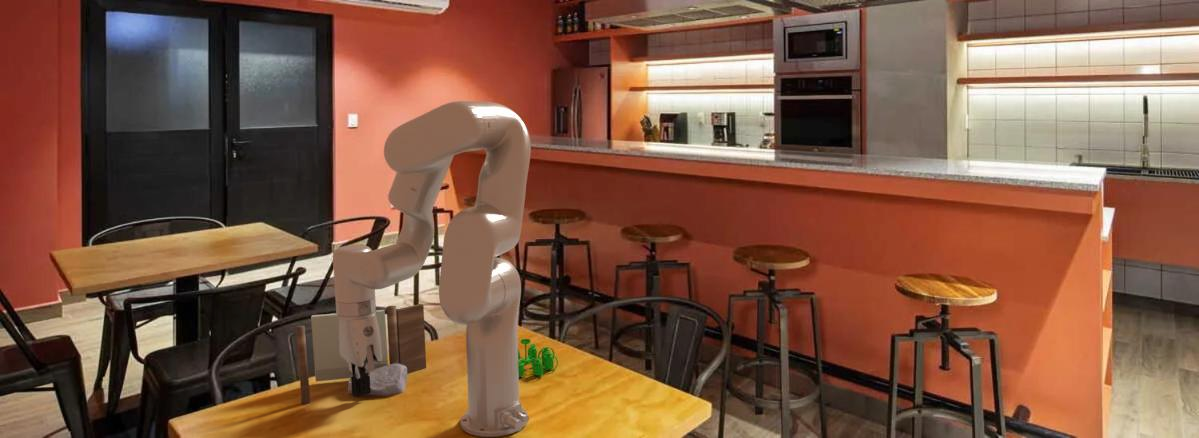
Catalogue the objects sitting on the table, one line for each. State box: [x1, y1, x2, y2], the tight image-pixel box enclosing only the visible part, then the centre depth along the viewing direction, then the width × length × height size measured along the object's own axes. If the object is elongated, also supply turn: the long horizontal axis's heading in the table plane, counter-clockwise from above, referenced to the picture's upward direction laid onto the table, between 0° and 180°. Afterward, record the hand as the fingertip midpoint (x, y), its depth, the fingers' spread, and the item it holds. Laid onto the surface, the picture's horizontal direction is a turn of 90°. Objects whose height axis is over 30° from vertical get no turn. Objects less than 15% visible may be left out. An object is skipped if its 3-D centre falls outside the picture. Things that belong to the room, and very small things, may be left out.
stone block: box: [347, 363, 408, 397], centre depth 147 cm, size 12×5×10 cm
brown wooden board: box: [295, 303, 427, 405], centre depth 148 cm, size 2×28×16 cm, turn 135°
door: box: [310, 309, 389, 382], centre depth 150 cm, size 15×1×14 cm, turn 106°
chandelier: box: [518, 338, 559, 379], centre depth 158 cm, size 15×15×7 cm
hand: (361, 394), depth 140 cm, fingers closed
